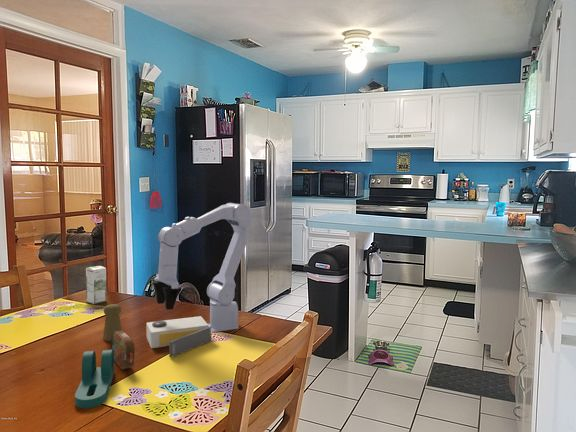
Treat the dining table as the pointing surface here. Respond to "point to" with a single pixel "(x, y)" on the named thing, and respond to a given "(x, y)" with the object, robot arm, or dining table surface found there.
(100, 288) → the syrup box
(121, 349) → the brown rounded piece
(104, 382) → the bracket
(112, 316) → the olive flared pepper mill
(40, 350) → the dining table surface
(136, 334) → the dining table surface
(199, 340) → the side door
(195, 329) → the camera housing
